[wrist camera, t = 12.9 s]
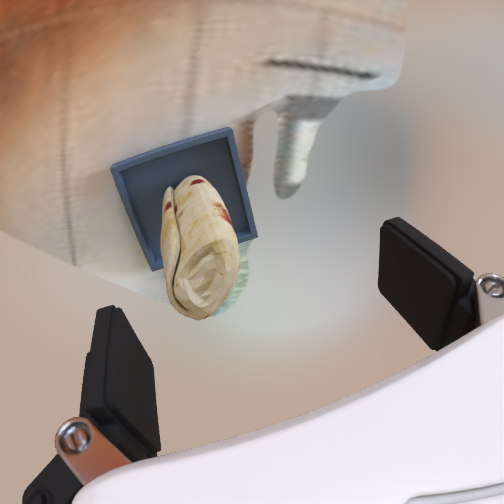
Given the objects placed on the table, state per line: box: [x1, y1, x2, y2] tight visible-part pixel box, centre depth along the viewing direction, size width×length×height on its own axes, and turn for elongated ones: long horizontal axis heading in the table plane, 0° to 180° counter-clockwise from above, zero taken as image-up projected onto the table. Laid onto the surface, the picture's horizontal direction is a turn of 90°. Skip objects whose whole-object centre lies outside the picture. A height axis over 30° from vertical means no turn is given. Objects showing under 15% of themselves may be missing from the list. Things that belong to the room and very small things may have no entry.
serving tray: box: [110, 127, 258, 272], centre depth 42 cm, size 16×16×2 cm
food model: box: [161, 175, 240, 320], centre depth 34 cm, size 10×7×20 cm
